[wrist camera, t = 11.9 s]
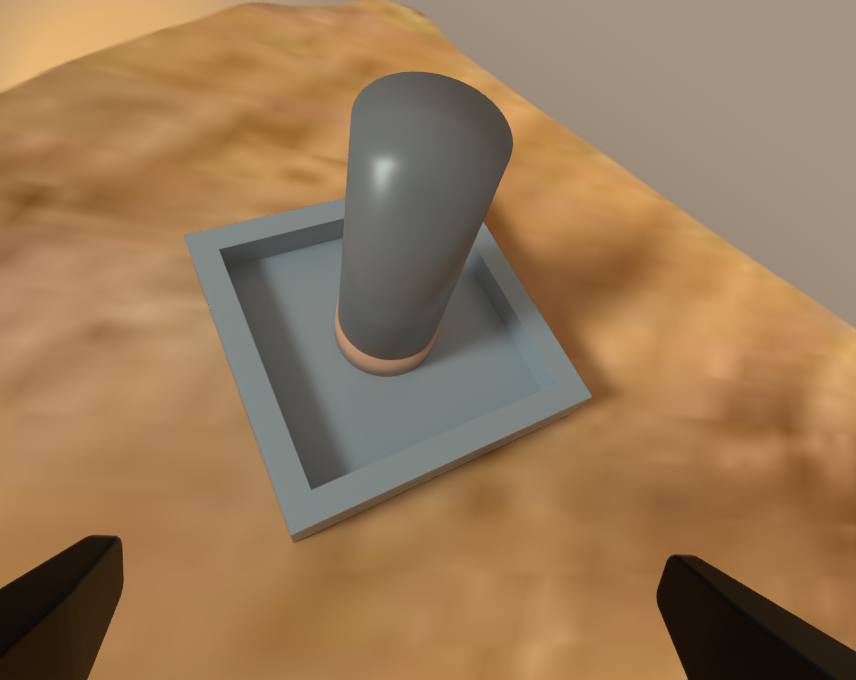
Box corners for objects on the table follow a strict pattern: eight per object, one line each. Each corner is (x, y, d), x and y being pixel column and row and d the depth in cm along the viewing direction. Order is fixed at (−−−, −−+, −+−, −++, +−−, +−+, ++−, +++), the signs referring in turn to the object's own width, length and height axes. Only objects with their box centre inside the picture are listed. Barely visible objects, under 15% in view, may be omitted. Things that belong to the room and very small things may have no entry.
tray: (568, 414, 26) (592, 396, 23) (293, 543, 21) (290, 535, 18) (443, 203, 30) (452, 172, 28) (194, 267, 25) (183, 235, 23)
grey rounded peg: (449, 319, 26) (540, 120, 15) (403, 395, 23) (473, 222, 13) (367, 273, 26) (401, 47, 15) (314, 344, 24) (311, 134, 13)
